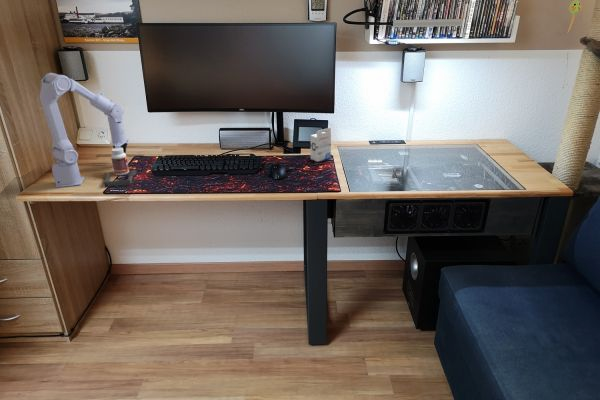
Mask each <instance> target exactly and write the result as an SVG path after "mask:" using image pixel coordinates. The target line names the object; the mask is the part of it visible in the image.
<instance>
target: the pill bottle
mask: <svg viewBox="0 0 600 400" xmlns="http://www.w3.org/2000/svg"><path fill="white" fill-rule="evenodd" d="M123 152H124V150H123V148H111V156H110V158H111V163H112V168H113V172H114V174H115V176H116V175H117V176H124V175H127V174H129V172H130V168H129V163H128V157H127V153H126V154H125V153H123Z"/></svg>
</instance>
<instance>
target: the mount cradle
mask: <svg viewBox="0 0 600 400" xmlns="http://www.w3.org/2000/svg"><path fill="white" fill-rule="evenodd" d="M137 173H138V172H137V169H132V170H131V171H129V173H128V176H127V179H114V180H111V179H112V177H111V175H110V173H109V172H107V171H105V172H104V177H105V179H104V181H103V185H104V188H109V187H119V186H120V187H121V186H127V185H128V186H129V185H131V184H132V180H133V177H135V176H136V175H137Z"/></svg>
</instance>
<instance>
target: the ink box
mask: <svg viewBox="0 0 600 400" xmlns="http://www.w3.org/2000/svg"><path fill="white" fill-rule="evenodd" d="M331 131H332V129H331V127H327V128H324V129H319V130H316V133H315V134H310V160H312V161H315V162H316V163H317V162H321V161H325V160H328V159H330V158H331V157H332V156H331V155H332V152H331V151H332V150H331V149H332V144H331V143H332V132H331Z"/></svg>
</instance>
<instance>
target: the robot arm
mask: <svg viewBox="0 0 600 400" xmlns="http://www.w3.org/2000/svg"><path fill="white" fill-rule="evenodd" d="M40 81H41V87H40V91H39V101H40V104H41V107H42V111H43V112H44V116H45V120H46V122H47V125H48V128H49V132H50V134H51V138H52V141H53V142H52V143H51V146H52V152H51V154H52V157H53V158H54V159H56V160H57V161H56V163H52V167H51V171H52V175H53V179H54V182H55V188H63V187H64V188H65V187H73V186H80V185H82V183H83V181H84V179H85V177H84V176H82V175H81V172H80V169H79V163H78V158H79V153H78V152H77V150H75V148H74V146H73V143H71V141H70V140H69V138H68V135H67V131H66V128H65V125H64V124H65V123H64V121H63V118H62V114H61V112H60V109H59V105H58V102H57V101H58V100H59V99H60V97H61V96H62V95H64V94H65V93H67V92H68V91H69V92H74V93H76V94H77V95H80V96H81V97H83V98H85V99H86V100H88V101H89V103H90V106H92V107H94V108H96V109H97V110H99V111H100V112H102V113H103V114H104V115H105V116H107V117H106V118H107V122H108V127H109V130H110V131H109V132H110V135H111V143H112V145H113V146H112V147H113V148H123V150H124V152H123V153H125V154H126V155H127V148H128V143H129V142H130V139H127V137H126V131H125V128H124V123H123V122H124V121H123V116H124V109H123V108H122V106H120V104H117V103H114V101H113V100H109V99H108V98H107V97H105V94H103V93H98V92H97V93H93V92H92V91H90V90H89V89H87V88H86V87H84V86H83V85H81V84H80V83H79V82H77V81H76V80H74V79H73V78H70V77H68V76H66V75H64V74H57V73H54V72H48V73H46V74H45V76H43V78H42V79H41V80H40ZM113 148H112V149H113Z"/></svg>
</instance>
